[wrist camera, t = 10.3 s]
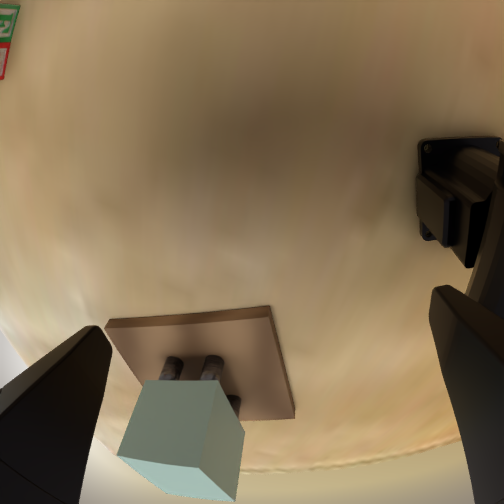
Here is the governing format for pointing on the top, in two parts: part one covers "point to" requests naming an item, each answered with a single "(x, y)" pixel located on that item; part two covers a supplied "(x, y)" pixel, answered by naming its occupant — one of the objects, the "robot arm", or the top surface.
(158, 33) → the top surface
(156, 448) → the teal block
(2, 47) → the stack of blocks
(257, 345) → the peg stand
